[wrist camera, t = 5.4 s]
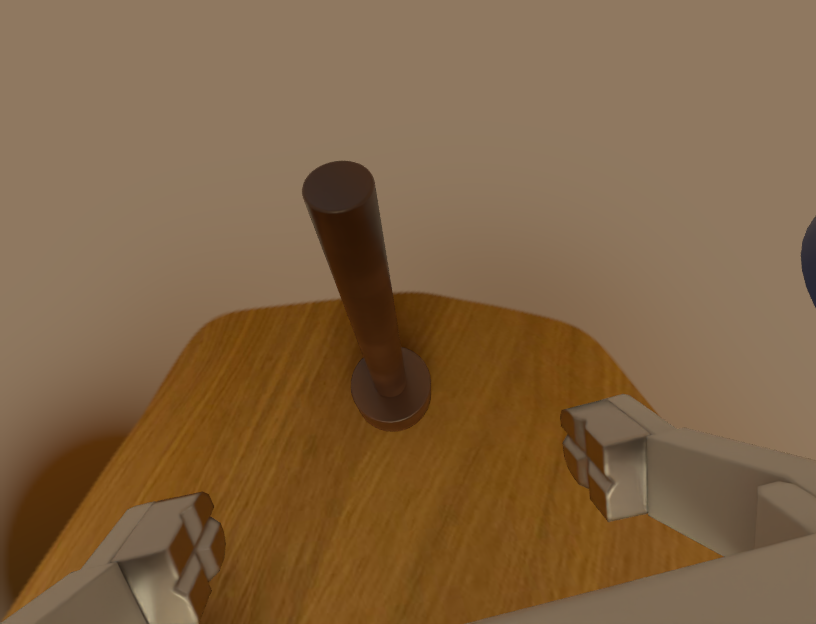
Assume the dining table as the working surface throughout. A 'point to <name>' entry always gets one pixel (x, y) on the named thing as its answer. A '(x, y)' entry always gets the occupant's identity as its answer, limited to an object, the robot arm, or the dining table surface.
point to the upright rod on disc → (366, 294)
